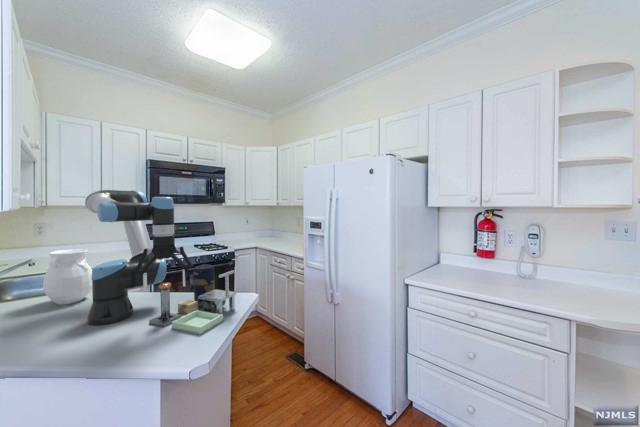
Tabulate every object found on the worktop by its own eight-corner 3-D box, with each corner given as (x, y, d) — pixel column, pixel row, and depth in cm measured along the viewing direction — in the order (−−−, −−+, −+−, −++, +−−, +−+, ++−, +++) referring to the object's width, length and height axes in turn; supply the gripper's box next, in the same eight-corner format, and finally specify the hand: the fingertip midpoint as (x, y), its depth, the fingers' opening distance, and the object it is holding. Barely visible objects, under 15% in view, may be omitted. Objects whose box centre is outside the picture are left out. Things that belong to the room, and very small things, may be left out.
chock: (177, 312, 116) (177, 303, 116) (186, 308, 121) (186, 299, 121) (189, 314, 114) (188, 305, 114) (197, 310, 119) (197, 301, 119)
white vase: (71, 308, 121) (69, 254, 121) (31, 308, 122) (29, 254, 121) (104, 294, 140) (103, 247, 139) (70, 294, 140) (69, 247, 140)
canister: (219, 299, 132) (218, 263, 132) (201, 305, 124) (200, 267, 124) (207, 295, 137) (206, 261, 137) (189, 301, 129) (189, 264, 129)
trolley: (198, 314, 114) (197, 273, 114) (215, 305, 124) (214, 268, 123) (220, 318, 110) (219, 275, 109) (236, 308, 120) (235, 270, 119)
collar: (149, 323, 105) (149, 320, 105) (167, 315, 112) (167, 312, 112) (164, 327, 102) (164, 323, 102) (181, 318, 110) (181, 315, 110)
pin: (156, 322, 106) (155, 285, 106) (166, 318, 110) (165, 282, 110) (164, 324, 105) (163, 286, 104) (174, 319, 109) (173, 283, 108)
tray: (171, 328, 101) (171, 321, 101) (196, 316, 112) (196, 310, 112) (200, 334, 96) (200, 327, 96) (223, 321, 107) (223, 314, 107)
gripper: (123, 238, 98) (125, 295, 98) (198, 234, 108) (199, 286, 109) (128, 236, 104) (130, 289, 105) (198, 233, 115) (199, 281, 115)
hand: (165, 288), depth 107 cm, fingers open, 13 cm apart
